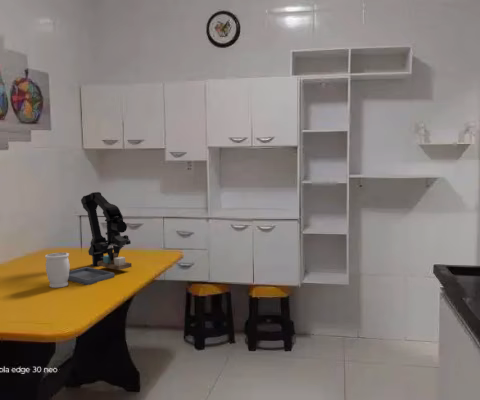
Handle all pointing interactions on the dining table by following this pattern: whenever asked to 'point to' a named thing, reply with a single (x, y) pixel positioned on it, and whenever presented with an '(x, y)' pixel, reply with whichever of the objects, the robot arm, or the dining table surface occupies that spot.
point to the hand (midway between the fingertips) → (114, 259)
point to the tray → (89, 275)
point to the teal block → (106, 259)
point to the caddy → (113, 264)
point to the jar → (57, 269)
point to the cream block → (119, 261)
